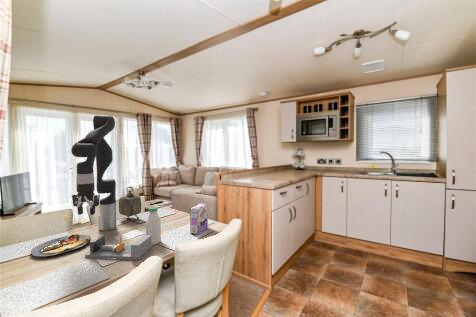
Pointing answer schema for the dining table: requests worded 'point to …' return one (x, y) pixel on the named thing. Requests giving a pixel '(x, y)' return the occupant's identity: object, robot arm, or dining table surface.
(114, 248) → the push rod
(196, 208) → the candy box
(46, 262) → the dining table surface
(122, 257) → the base
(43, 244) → the food plate
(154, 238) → the milk bottle
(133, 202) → the tabletop clock
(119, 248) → the needle
